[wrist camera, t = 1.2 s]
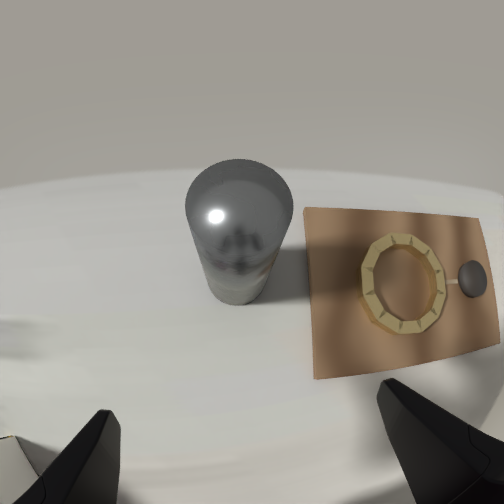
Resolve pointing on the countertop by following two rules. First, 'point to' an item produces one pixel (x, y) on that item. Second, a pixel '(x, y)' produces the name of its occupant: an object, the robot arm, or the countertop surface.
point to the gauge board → (395, 290)
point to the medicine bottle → (14, 471)
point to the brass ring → (373, 304)
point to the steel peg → (238, 225)
